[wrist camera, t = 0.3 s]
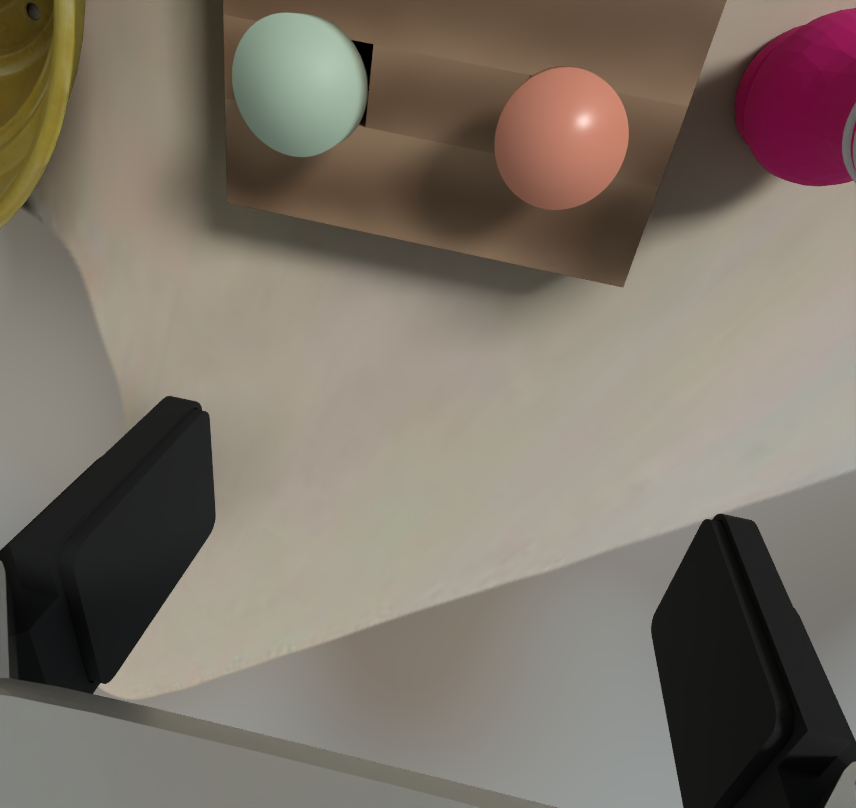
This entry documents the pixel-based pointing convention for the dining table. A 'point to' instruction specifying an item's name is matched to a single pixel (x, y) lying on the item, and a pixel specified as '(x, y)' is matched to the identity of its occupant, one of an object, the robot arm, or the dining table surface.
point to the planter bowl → (34, 90)
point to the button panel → (479, 123)
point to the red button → (561, 138)
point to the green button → (299, 83)
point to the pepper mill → (804, 102)
